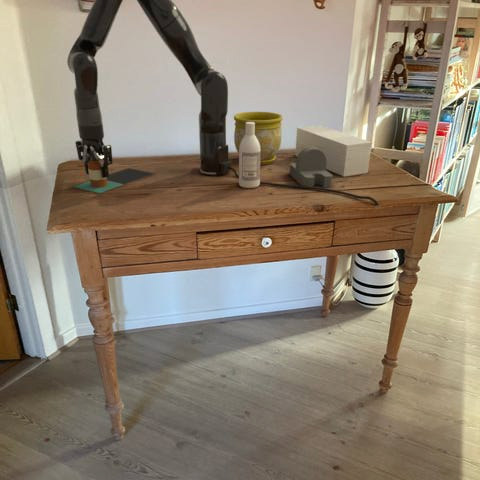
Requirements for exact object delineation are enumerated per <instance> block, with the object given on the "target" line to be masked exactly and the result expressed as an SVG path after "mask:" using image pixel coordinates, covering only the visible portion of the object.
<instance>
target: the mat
mask: <svg viewBox="0 0 480 480" xmlns="http://www.w3.org/2000/svg"><path fill="white" fill-rule="evenodd" d="M151 175H154V173H153V172H148V171H143V170H138V169H133V168H126V169H125V168H124V169H122V170H120V171H116V172H113V173H109V176H108V177H107V184H108V185H107V186H105V187H98V188H97V187H92V186H91V183H90V180H89V181H86V182H83V183H79V184H77V185H73V188H74V189H79V190H83V191H87V192H91V193H95V194H98V195H100V194H101V193H104V192H106V191H109V190H112V189H115V188H118V187H121V186H123V185H127V184H130V183H133V182H135V181H138V180H141V179H143V178H146V177H148V176H151Z"/></svg>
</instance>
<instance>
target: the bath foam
mask: <svg viewBox="0 0 480 480" xmlns="http://www.w3.org/2000/svg"><path fill="white" fill-rule="evenodd" d="M260 153H261V150H260V144H259V142H258V140H257V138H256V136H255V123H254V122H246V124H245V136H244V138H243V139H242V141H241V143H240V147H239V153H238V176H239V178H238V185H239V186H240V187H241V188H244V189H256V188H258V187H259V186H260V185H261V184H260V182H261V165H260Z"/></svg>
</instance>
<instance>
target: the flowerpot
mask: <svg viewBox="0 0 480 480" xmlns="http://www.w3.org/2000/svg"><path fill="white" fill-rule="evenodd" d="M283 118H284V117H283V115H282V114H281V113H276V112H271V111H245V112H238V113H236V114H235V115H233V120H234V122H235V123H234V134H233V141H234V147H235V150H236V151H237V153H238V154H239V147H240V143H241V141H242V139H243V138H244V136H245V124H246V122H254V123H255V136H256V138H257V140H258V142H259V144H260V150H261V153H260V166H265V165H269V164H270V165H271V164H272V163H274V161H275V160H276V158H277V156H276V155H277V154H278V152H279V150H280V148H281V144H282V121H283Z"/></svg>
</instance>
